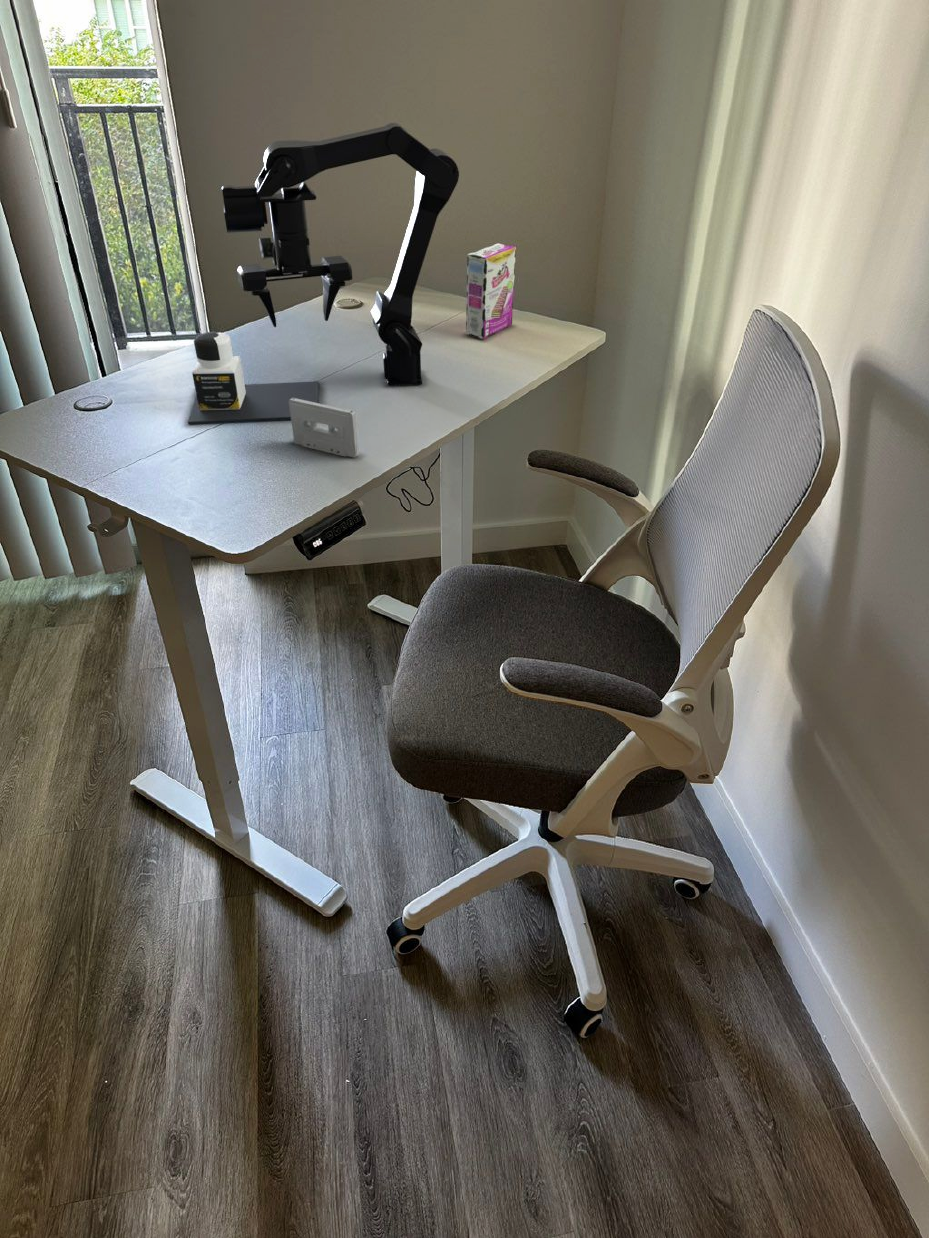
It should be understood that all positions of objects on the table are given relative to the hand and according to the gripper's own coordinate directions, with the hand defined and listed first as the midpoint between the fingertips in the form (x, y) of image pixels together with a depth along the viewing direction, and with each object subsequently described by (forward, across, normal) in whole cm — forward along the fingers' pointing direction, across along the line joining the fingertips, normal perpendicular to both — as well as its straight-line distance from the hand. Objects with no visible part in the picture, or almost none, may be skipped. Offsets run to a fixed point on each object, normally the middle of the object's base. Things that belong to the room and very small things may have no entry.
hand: (300, 323), depth 151 cm
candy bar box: (+12, -43, -16) cm, 48 cm away
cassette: (+12, +3, +25) cm, 28 cm away
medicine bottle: (+12, +16, +2) cm, 20 cm away
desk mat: (+12, +10, +4) cm, 16 cm away
